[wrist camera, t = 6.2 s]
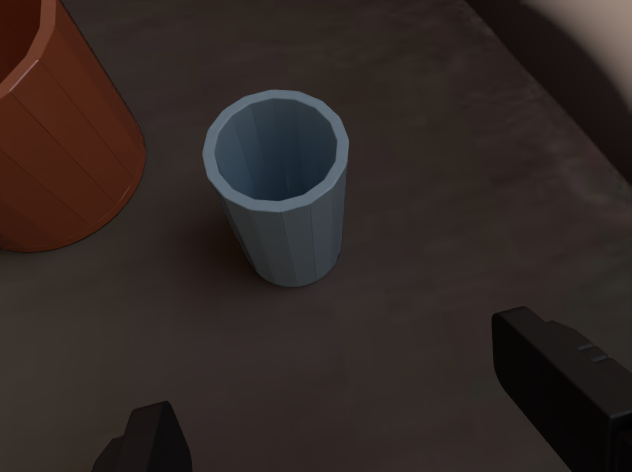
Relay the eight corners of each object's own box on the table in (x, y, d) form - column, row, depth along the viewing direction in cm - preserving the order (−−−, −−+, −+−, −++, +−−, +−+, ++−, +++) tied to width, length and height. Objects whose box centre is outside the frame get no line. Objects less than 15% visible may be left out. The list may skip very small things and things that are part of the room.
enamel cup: (337, 291, 26) (342, 217, 17) (237, 282, 26) (189, 205, 17) (345, 202, 28) (353, 94, 19) (253, 195, 29) (218, 85, 19)
